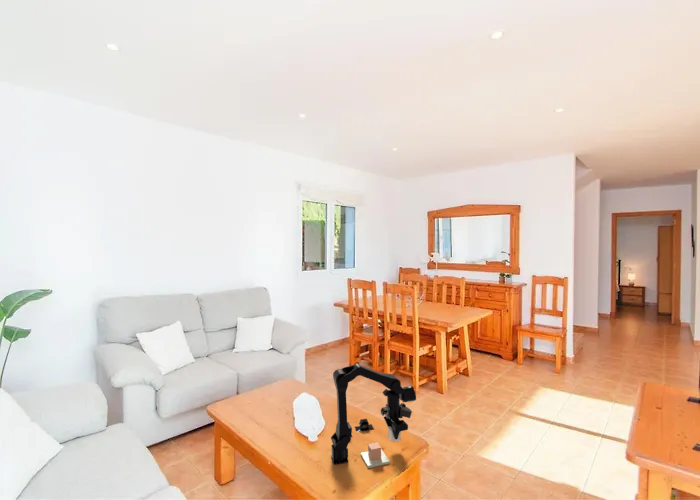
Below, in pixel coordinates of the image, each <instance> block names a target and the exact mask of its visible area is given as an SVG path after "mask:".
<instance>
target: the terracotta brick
mask: <svg viewBox="0 0 700 500" xmlns="http://www.w3.org/2000/svg"><path fill="white" fill-rule="evenodd" d="M381 449H382V447H381V445H380V444H379V442H377V441H376V442H372V443H368V444H367V451H368V455H369V457H370V459H371V460H372V461H373V460H378V459H381Z"/></svg>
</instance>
